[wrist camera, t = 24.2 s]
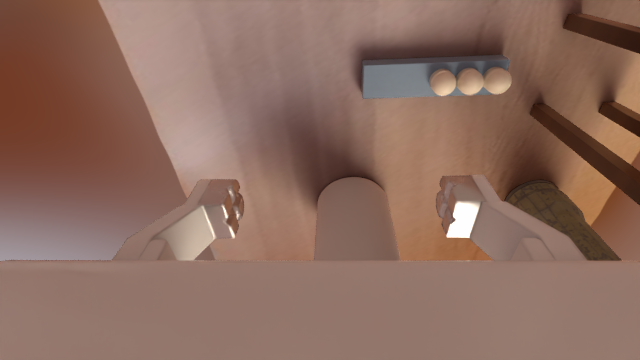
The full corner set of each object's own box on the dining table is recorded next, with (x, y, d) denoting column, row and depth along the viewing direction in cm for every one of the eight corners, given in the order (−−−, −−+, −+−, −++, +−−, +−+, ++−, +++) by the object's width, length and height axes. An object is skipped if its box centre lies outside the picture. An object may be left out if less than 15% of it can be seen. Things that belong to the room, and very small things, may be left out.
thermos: (493, 224, 58) (646, 483, 30) (516, 172, 51) (743, 448, 23) (542, 224, 57) (744, 487, 29) (571, 172, 50) (873, 452, 22)
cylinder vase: (344, 236, 61) (349, 375, 41) (303, 197, 55) (286, 336, 35) (400, 208, 56) (437, 351, 36) (361, 162, 50) (380, 301, 30)
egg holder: (361, 92, 44) (364, 107, 39) (362, 60, 41) (365, 72, 37) (492, 87, 43) (510, 103, 38) (502, 54, 40) (522, 66, 36)
